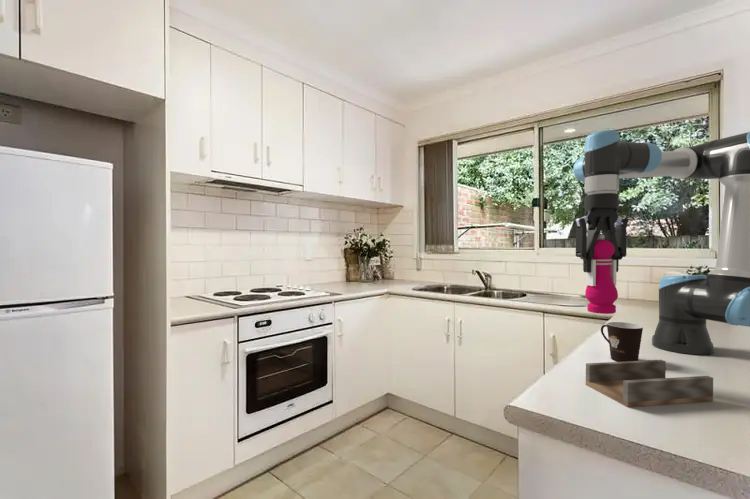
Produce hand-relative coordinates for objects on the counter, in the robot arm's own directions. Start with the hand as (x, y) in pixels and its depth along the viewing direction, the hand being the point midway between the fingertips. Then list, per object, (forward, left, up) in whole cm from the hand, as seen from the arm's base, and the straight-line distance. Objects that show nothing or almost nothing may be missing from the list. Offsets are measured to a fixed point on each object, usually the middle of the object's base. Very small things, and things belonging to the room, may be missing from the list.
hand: (600, 285), depth 97 cm
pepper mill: (0, 0, -7) cm, 7 cm away
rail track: (-1, +13, -23) cm, 26 cm away
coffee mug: (-15, -10, -23) cm, 29 cm away
